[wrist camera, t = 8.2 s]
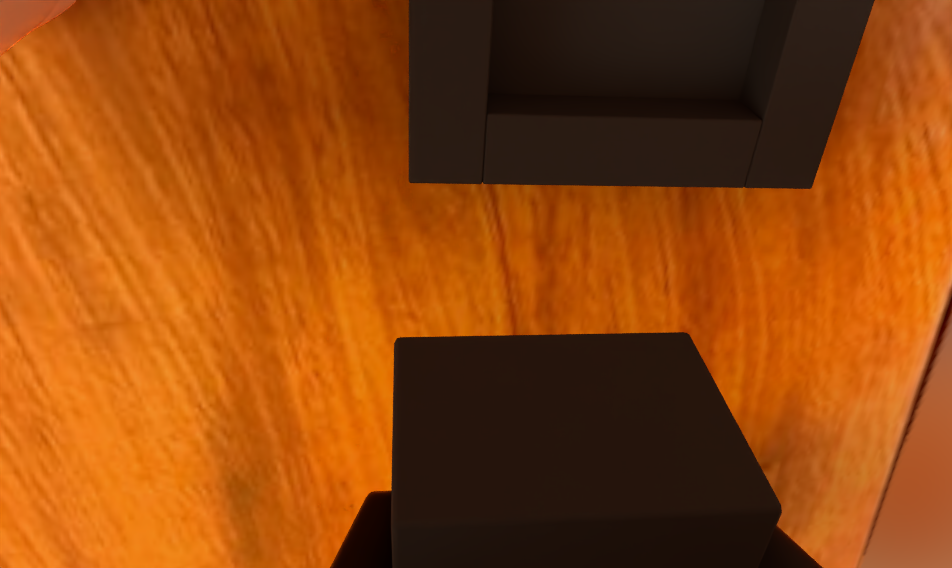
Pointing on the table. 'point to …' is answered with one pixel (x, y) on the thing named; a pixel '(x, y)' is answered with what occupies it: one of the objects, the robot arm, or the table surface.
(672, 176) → the socket pad
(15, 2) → the drinking glass
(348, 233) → the table surface
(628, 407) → the black block
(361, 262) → the table surface
